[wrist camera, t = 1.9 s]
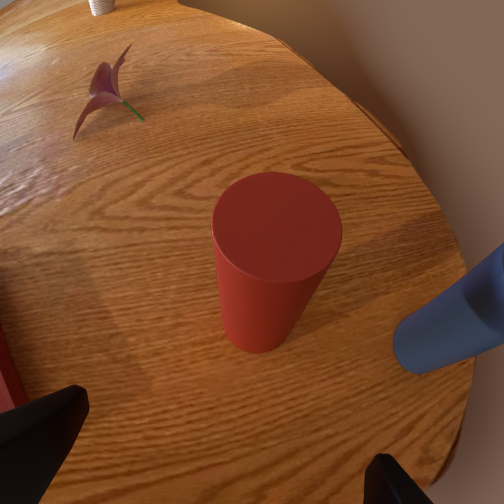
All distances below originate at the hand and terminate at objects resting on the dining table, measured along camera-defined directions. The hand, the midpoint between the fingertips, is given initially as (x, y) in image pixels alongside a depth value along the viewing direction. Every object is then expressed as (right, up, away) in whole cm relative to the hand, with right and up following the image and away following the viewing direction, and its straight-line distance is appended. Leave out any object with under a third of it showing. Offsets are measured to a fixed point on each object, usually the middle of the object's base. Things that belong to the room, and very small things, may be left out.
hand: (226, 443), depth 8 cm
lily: (-16, +21, +26) cm, 37 cm away
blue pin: (+14, -2, +15) cm, 21 cm away
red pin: (+1, 0, +16) cm, 16 cm away
